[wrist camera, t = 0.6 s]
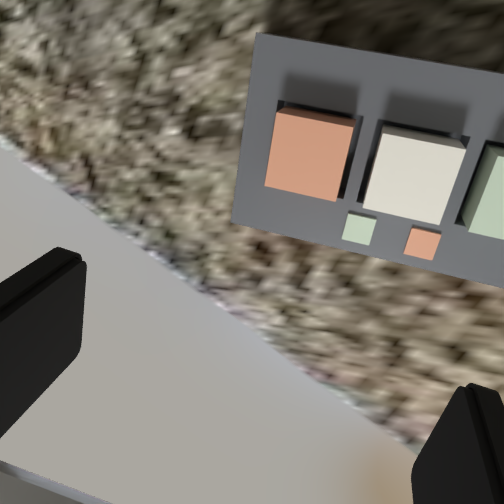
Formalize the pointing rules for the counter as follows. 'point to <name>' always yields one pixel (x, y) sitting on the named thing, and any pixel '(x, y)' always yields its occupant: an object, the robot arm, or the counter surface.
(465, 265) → the keypad
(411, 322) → the counter surface
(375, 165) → the cream key
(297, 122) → the terracotta key
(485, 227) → the sage key
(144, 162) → the counter surface
